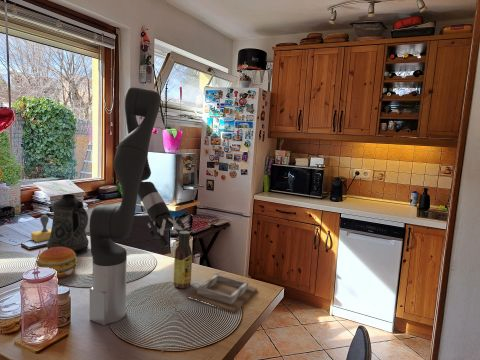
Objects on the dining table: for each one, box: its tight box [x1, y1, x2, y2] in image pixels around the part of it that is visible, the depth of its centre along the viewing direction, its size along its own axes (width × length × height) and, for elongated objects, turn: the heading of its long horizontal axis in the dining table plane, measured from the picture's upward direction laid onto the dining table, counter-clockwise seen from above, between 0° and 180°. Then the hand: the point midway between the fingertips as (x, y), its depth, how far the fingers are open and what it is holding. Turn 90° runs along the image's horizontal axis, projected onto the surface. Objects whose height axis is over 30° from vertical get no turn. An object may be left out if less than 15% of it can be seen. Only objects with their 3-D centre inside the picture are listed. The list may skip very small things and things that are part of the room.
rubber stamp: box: [30, 214, 52, 243], centre depth 160 cm, size 10×6×12 cm, turn 146°
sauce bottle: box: [173, 230, 193, 289], centre depth 120 cm, size 7×6×20 cm
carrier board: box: [186, 273, 258, 314], centre depth 116 cm, size 18×18×4 cm
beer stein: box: [46, 193, 90, 255], centre depth 147 cm, size 16×19×25 cm
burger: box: [36, 247, 78, 279], centre depth 124 cm, size 14×14×10 cm
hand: (175, 243), depth 122 cm, fingers open, 8 cm apart
